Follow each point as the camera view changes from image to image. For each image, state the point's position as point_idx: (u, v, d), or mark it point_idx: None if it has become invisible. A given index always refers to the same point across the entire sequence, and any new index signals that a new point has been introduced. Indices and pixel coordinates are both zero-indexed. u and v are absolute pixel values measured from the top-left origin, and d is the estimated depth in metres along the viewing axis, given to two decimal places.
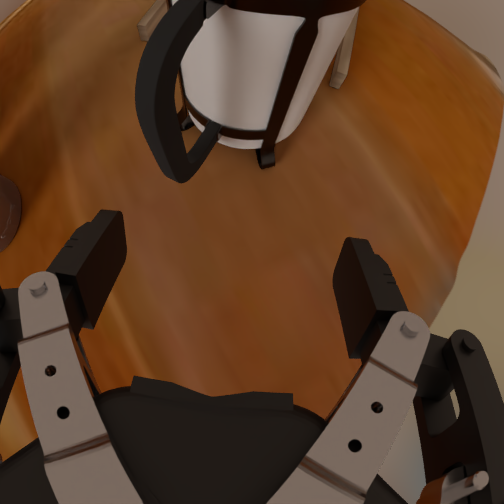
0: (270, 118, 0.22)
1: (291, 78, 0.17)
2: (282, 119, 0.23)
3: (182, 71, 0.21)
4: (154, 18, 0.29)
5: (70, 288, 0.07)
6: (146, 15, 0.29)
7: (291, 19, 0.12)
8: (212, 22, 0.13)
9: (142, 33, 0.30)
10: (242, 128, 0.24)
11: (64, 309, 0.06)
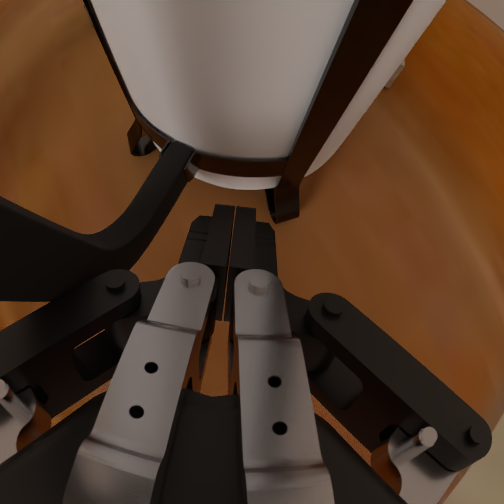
0: (300, 134, 0.10)
1: (376, 22, 0.05)
2: (324, 136, 0.10)
3: None
4: None
5: (216, 279, 0.09)
6: None
7: None
8: None
9: None
10: (237, 155, 0.12)
11: (204, 313, 0.07)
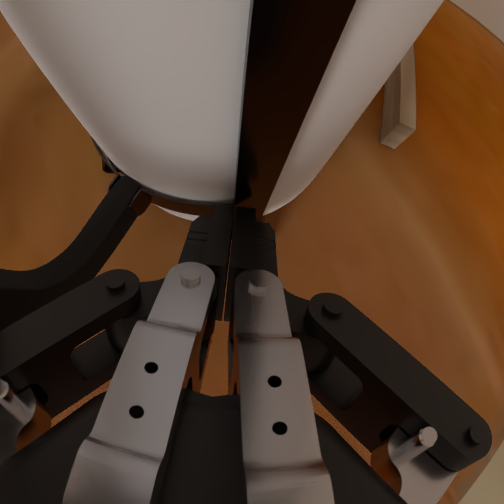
0: (237, 185, 0.09)
1: (287, 73, 0.04)
2: (269, 185, 0.10)
3: None
4: None
5: (216, 279, 0.09)
6: None
7: None
8: None
9: None
10: (182, 197, 0.11)
11: (204, 313, 0.07)
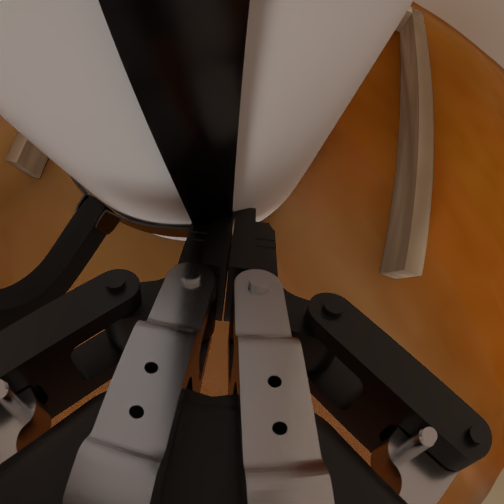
0: (190, 213, 0.09)
1: (194, 115, 0.04)
2: (225, 212, 0.10)
3: None
4: None
5: (216, 279, 0.09)
6: None
7: None
8: None
9: (22, 169, 0.16)
10: (144, 219, 0.11)
11: (204, 313, 0.07)
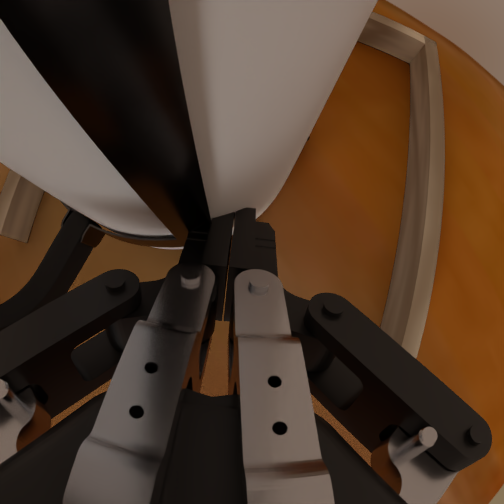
0: (168, 226, 0.09)
1: (146, 139, 0.04)
2: (204, 222, 0.10)
3: None
4: (18, 201, 0.15)
5: (216, 279, 0.09)
6: (2, 199, 0.14)
7: None
8: None
9: None
10: (127, 232, 0.11)
11: (204, 313, 0.07)
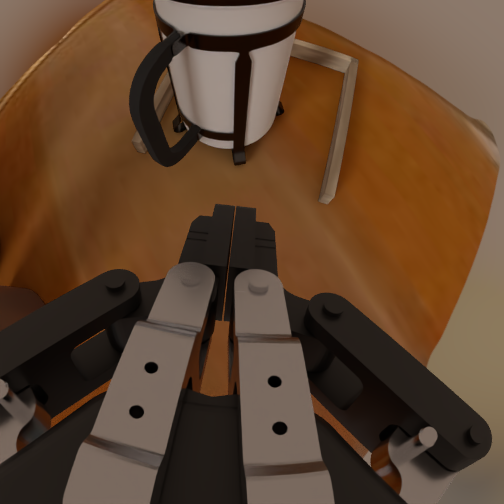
0: (234, 123, 0.30)
1: (241, 93, 0.25)
2: (244, 124, 0.31)
3: (174, 86, 0.29)
4: None
5: (216, 279, 0.09)
6: None
7: (230, 53, 0.20)
8: (184, 56, 0.21)
9: (138, 147, 0.37)
10: (216, 131, 0.32)
11: (204, 313, 0.07)
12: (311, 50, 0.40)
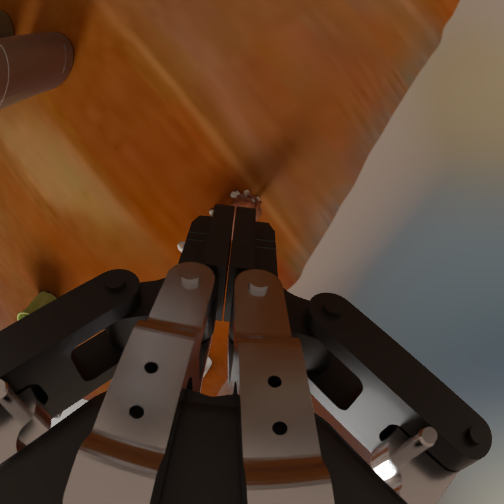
0: None
1: None
2: None
3: None
4: None
5: (216, 279, 0.09)
6: None
7: None
8: None
9: None
10: None
11: (204, 313, 0.07)
12: None
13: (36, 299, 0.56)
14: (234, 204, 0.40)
